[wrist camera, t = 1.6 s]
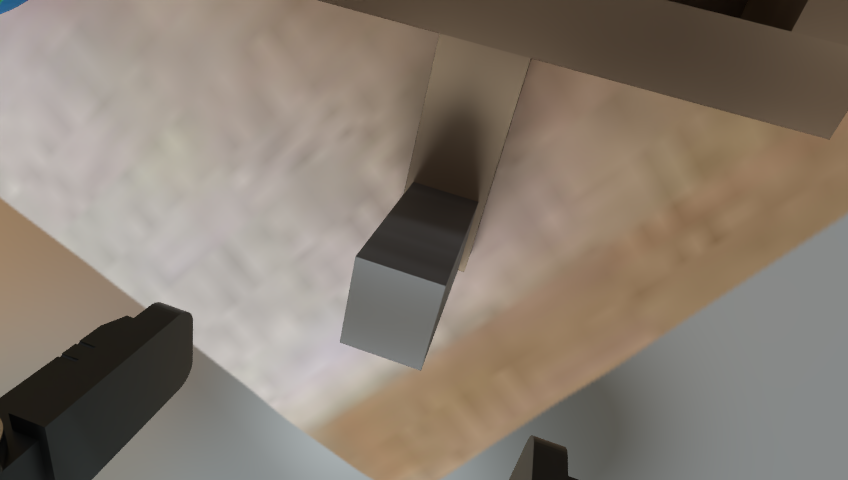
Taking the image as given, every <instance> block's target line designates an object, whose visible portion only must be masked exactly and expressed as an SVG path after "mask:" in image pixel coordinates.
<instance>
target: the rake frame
mask: <svg viewBox="0 0 848 480" xmlns="http://www.w3.org/2000/svg"><path fill="white" fill-rule="evenodd" d="M319 1H322V2H326V3H330V4H333V5H337V6H341V7H344V8H348V9H352V10H355V11H359V12H363V13H366V14H370V15H374V16H377V17H381V18H385V19H388V20H392V21H396V22H400V23H403V24H407V25H411V26H414V27H418V28H422V29H425V30H429V31H433V32H436V33H439V38H438V42H437V47H436V51H435V56H434V60H433V65H432V69H431V74H430V78H429V83H428V87H427V92H426V96H425V101H424V105H423V110H422V114H421V119H420V123H419V128H418V132H417V137H416V141H415V146H414V150H413V155H412V159H411V164H410V168H409V173H408V177H407V182H406V186H405V191H404V195H403V196H402V197H401V198H400V200H399V201H398V202H397V204H396V205H395V206H394V208H393V209H392V210H391V211H390V213H389V214H388V215H387V217H386V218H385V219H384V220H383V222H382V223H381V224H380V226H379V227H378V228H377V230H376V231H375V232H374V233H373V235H372V236H371V237H370V239H369V240H368V241H367V242H366V244H365V245H364V246H363V248H362V249H361V250H360V252H359V253H358V254H357V255H356V257H355V263H354V268H353V273H352V279H351V284H350V290H349V295H348V301H347V306H346V312H345V317H344V322H343V328H342V333H341V339H340V343H343V344H346V345H349V346H352V347H355V348H357V349H360V350H363V351H366V352H369V353H372V354H375V355H377V356H380V357H383V358H386V359H389V360H392V361H395V362H398V363H400V364H403V365H406V366H409V367H412V368H415V369H418V370H420V371H421V369H422V366H423V363H424V361H425V358H426V355H427V352H428V350H429V347H430V344H431V342H432V339H433V336H434V333H435V331H436V328H437V325H438V323H439V320H440V317H441V314H442V312H443V309H444V306H445V304H446V301H447V298H448V295H449V293H450V290H451V287H452V285H453V282H454V279H455V277H456V274H457V271H458V270H459V271H462V272H464V271H465V268H466V265H467V262H468V259H469V256H470V252H471V249H472V246H473V243H474V240H475V236H476V233H477V230H478V227H479V224H480V220H481V217H482V214H483V211H484V208H485V204H486V201H487V198H488V195H489V192H490V188H491V185H492V182H493V179H494V176H495V172H496V169H497V166H498V163H499V159H500V156H501V153H502V150H503V147H504V143H505V140H506V137H507V134H508V131H509V127H510V124H511V121H512V118H513V115H514V111H515V108H516V105H517V102H518V99H519V95H520V92H521V89H522V86H523V83H524V79H525V76H526V73H527V70H528V67H529V63H530V60H531V58H532V59H535V60H539V61H543V62H546V63H550V64H554V65H557V66H561V67H565V68H568V69H572V70H576V71H579V72H583V73H587V74H590V75H594V76H598V77H601V78H605V79H609V80H612V81H616V82H620V83H623V84H627V85H631V86H634V87H638V88H642V89H645V90H649V91H653V92H656V93H660V94H664V95H667V96H671V97H675V98H678V99H682V100H686V101H689V102H693V103H697V104H700V105H704V106H708V107H711V108H715V109H719V110H722V111H726V112H730V113H734V114H737V115H741V116H745V117H748V118H752V119H756V120H759V121H763V122H767V123H770V124H774V125H778V126H781V127H785V128H789V129H792V130H796V131H800V132H803V133H807V134H811V135H814V136H818V137H822V138H825V139H830V138H831V136H832V135H833V133H834V132H835V130H836V128H837V127H838V125H839V124H840V122H841V121H842V119H843V117H844V116H845V114H846V113H847V111H848V0H748V2H747V4H746V6H745V8H744V10H743V12H742V14H741V16H740V18H735V17H731V16H727V15H723V14H720V13H716V12H712V11H708V10H704V9H700V8H696V7H692V6H688V5H684V4H680V3H676V2H672V1H668V0H319Z"/></svg>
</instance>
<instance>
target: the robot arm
mask: <svg viewBox="0 0 848 480" xmlns="http://www.w3.org/2000/svg"><path fill="white" fill-rule="evenodd" d="M192 349H193V318H192V315H191V314H190V313H189V312H186V311H183V310H180V309H177V308H175V307H172V306H169V305H166V304H163V303H161V302H157V303H154V304H152V305H151V306H149V307H148V308H147V309H145V310H144V311H143V312H141V313H140V314H139V315H137V316H136V317H135V318H132V317H129V316H125V317H122V318H120V319H117V320H115V321H112V322H109V323H107V324H104V325H101V326H100V327H98V328H97V329H96V330H94V331H93V332H91V333H90V334H89V335H87V336H86V337H84V338H83V339H82V340H80V342H79V344H75V345H73V346H72V347H70V348H69V349H68V350H66V351H65V352H63V353H62V356H61V357H56V358H55V359H54V360H52V361H51V362H50V363H48V364H47V365H45V366H44V367H42V368H41V369H40V370H38V371H37V372H35V373H34V374H33V375H31V376H30V377H29V378H27V379H26V380H24V381H23V382H22V383H20V384H19V385H17V386H16V387H15V388H13V389H12V390H10V391H9V392H8V393H6V394H5V395H3V396H2V397H1V398H0V480H92V479H93V478H94V477H95V476H96V475H97V474H98V472H99V471H101V469H102V468H103V467H104V466H105V465H106V464H107V463H108V462H109V461H110V460H111V459H112V458H113V457H114V456H115V455H116V454H117V453H118V452H119V451H120V450H121V449H122V448H123V447H124V446H125V445H126V444H127V443H128V442H129V441H130V440H131V438H132V437H133V436H134V435H135V434H136V433H137V432H138V431H139V430H140V429H141V428H142V427H143V426H144V425H145V424H146V423H147V422H148V421H149V420H150V419H151V418H152V417H153V416H154V415H155V414H156V413H157V412H158V411H159V410H160V408H162V406H163V405H164V404H165V403H166V402H167V401H168V400H169V399H170V398H171V397H172V396H173V395H174V394H175V393H176V392H177V391H178V390H179V389H180V388H181V387H182V385H183V384H184V382H185V381H186V379H187V377H188V375H189V373H190V370H191V367H192V355H193V353H192V352H193V350H192ZM509 480H578V479H575V478H572V477H569V476H568V455H567V449H566V447H563V446H561V445H558V444H555V443H552V442H549V441H546V440H544V439H541V438H538V437H535V436H530V437H529V439H528V441H527V443H526V445H525V447H524V449H523V451H522V453H521V456H520V458H519V460H518V462H517V464H516V466H515V468H514V470H513V472H512V475H511V477H510V479H509Z"/></svg>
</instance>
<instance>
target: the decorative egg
mask: <svg viewBox="0 0 848 480" xmlns="http://www.w3.org/2000/svg"><path fill="white" fill-rule="evenodd" d="M26 1H28V0H0V14H2V13H4V12H7V11H9V10H12V9H14V8H15V7H17V6H19V5H21V4H23V3H24V2H26Z"/></svg>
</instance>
